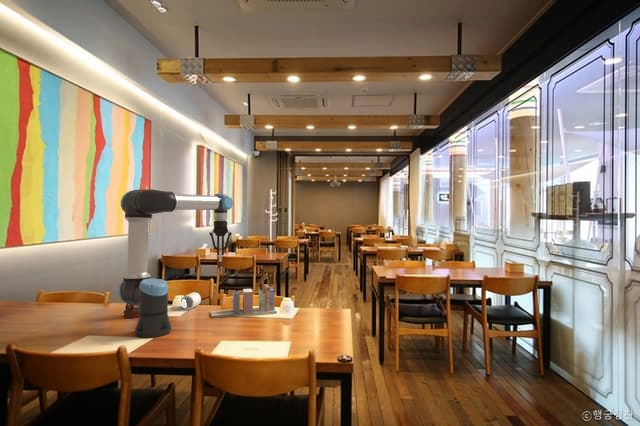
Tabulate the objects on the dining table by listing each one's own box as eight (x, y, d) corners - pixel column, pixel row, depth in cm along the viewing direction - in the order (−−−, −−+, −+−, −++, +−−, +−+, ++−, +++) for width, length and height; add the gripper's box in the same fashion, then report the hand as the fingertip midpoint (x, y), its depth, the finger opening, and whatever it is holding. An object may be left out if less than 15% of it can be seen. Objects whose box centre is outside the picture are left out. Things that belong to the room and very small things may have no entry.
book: (252, 312, 200) (252, 291, 201) (244, 313, 199) (244, 292, 199) (251, 308, 209) (251, 288, 209) (242, 309, 208) (242, 289, 208)
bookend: (239, 313, 198) (239, 294, 199) (233, 313, 198) (233, 294, 198) (238, 309, 207) (238, 290, 207) (232, 309, 206) (232, 291, 206)
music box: (137, 319, 189) (134, 280, 190) (117, 320, 191) (114, 281, 191) (154, 312, 204) (151, 275, 205) (135, 313, 206) (133, 276, 206)
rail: (276, 313, 203) (276, 287, 203) (211, 318, 193) (211, 290, 194) (273, 308, 214) (273, 283, 214) (211, 312, 204) (211, 286, 204)
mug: (201, 306, 220) (201, 292, 220) (193, 310, 210) (193, 296, 210) (181, 305, 221) (181, 291, 221) (173, 309, 211) (173, 295, 211)
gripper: (231, 220, 223) (231, 260, 223) (208, 220, 220) (208, 260, 219) (232, 220, 216) (232, 261, 216) (208, 220, 212) (208, 262, 212)
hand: (220, 261), depth 218 cm, fingers closed
